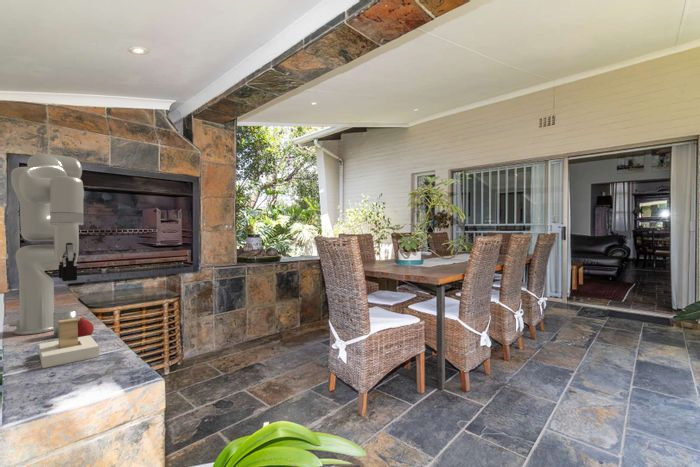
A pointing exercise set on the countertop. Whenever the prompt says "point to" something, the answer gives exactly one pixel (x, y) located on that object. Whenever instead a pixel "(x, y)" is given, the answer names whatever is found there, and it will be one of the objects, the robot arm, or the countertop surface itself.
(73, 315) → the round peg
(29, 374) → the countertop surface
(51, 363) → the socket block
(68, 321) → the square peg
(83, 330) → the onion
